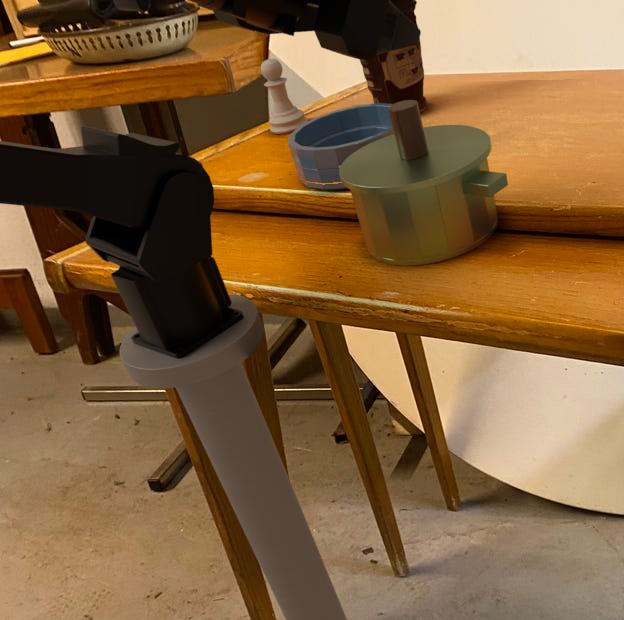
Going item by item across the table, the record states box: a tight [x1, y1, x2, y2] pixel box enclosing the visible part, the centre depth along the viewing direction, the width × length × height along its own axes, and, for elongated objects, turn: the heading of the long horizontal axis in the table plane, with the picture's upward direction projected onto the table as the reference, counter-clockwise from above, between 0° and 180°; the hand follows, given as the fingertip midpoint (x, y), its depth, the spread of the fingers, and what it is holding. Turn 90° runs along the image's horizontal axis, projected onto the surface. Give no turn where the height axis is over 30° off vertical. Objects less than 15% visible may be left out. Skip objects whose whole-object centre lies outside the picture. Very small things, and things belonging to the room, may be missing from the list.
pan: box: [287, 102, 394, 191], centre depth 94 cm, size 12×12×4 cm
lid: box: [339, 100, 492, 194], centre depth 74 cm, size 13×13×5 cm
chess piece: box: [260, 58, 309, 135], centre depth 109 cm, size 5×5×8 cm
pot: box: [339, 157, 509, 267], centre depth 78 cm, size 12×17×6 cm
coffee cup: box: [359, 0, 428, 113], centre depth 104 cm, size 9×8×13 cm
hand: (381, 29), depth 73 cm, fingers open, 9 cm apart
